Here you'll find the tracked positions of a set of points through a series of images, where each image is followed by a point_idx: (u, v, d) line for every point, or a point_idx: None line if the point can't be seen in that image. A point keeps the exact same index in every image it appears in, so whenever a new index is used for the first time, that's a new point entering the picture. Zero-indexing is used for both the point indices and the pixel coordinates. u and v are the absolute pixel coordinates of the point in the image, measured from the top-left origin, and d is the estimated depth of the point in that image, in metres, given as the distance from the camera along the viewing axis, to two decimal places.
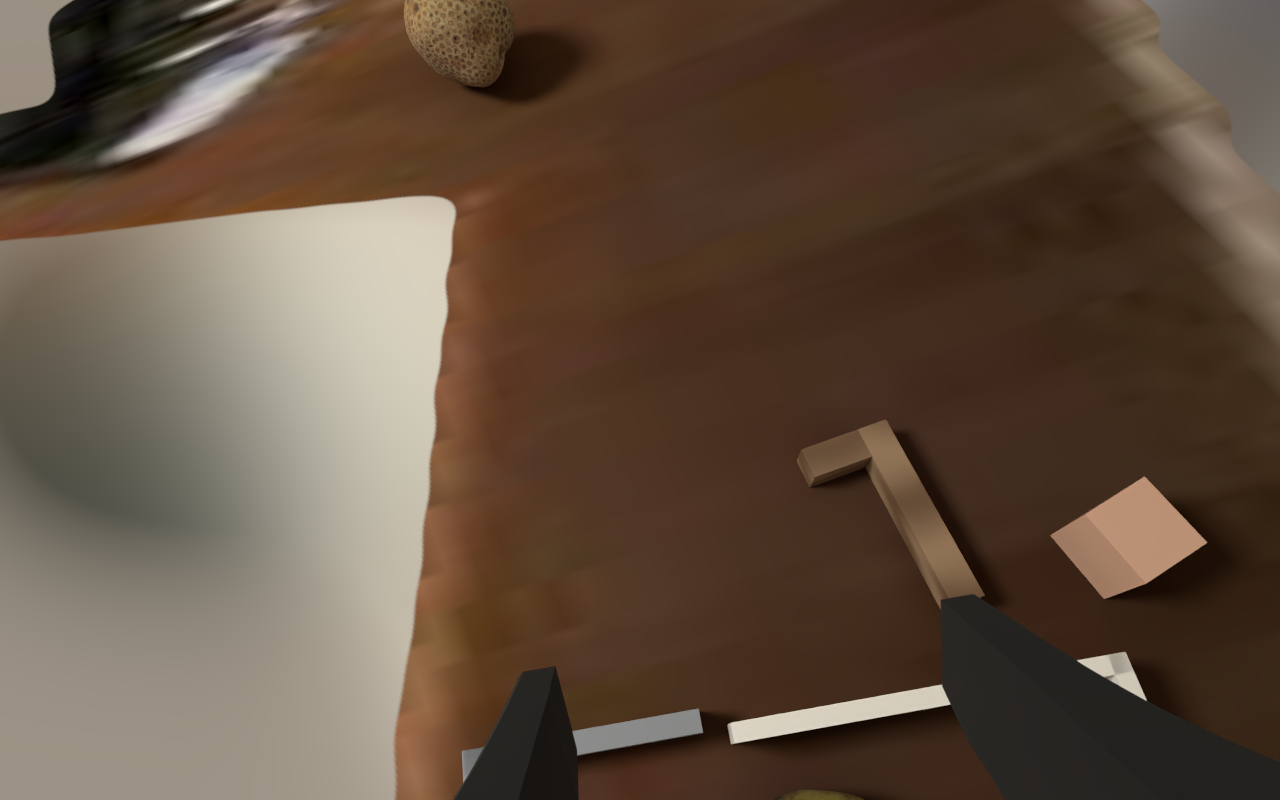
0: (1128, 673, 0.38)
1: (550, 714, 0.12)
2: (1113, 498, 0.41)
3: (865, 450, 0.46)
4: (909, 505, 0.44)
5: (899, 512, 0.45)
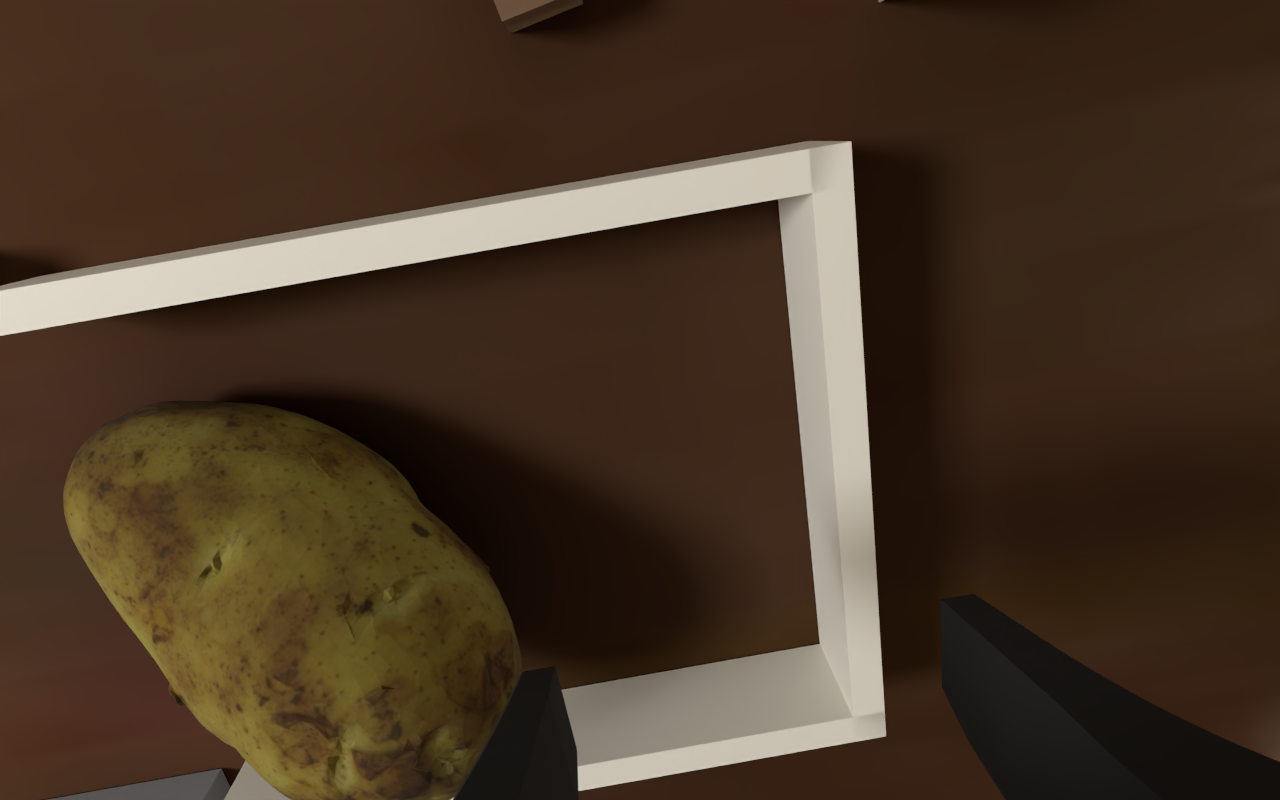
0: (840, 190, 0.17)
1: (550, 714, 0.12)
2: None
3: None
4: None
5: None
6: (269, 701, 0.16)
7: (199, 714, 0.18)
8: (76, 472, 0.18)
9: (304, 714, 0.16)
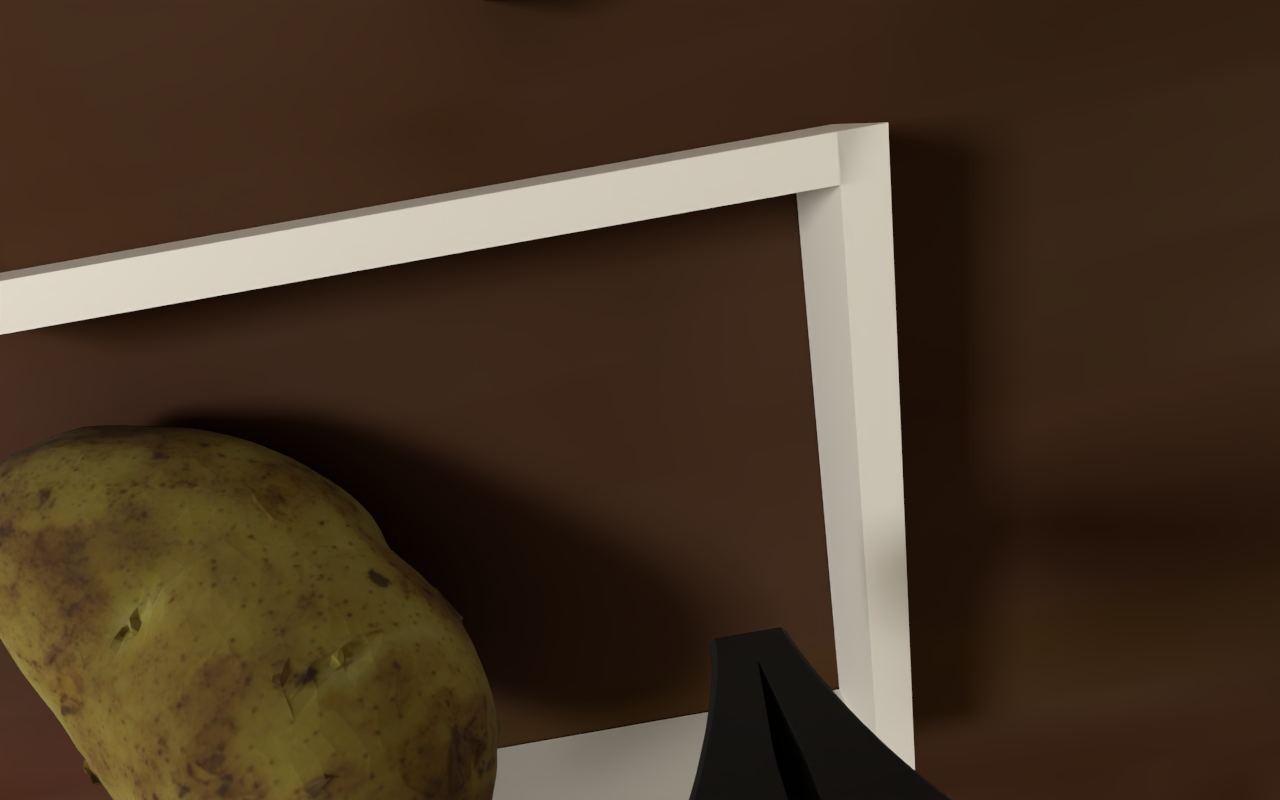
0: (874, 182, 0.14)
1: (760, 677, 0.12)
2: None
3: None
4: None
5: None
6: (190, 792, 0.14)
7: (116, 798, 0.15)
8: None
9: None
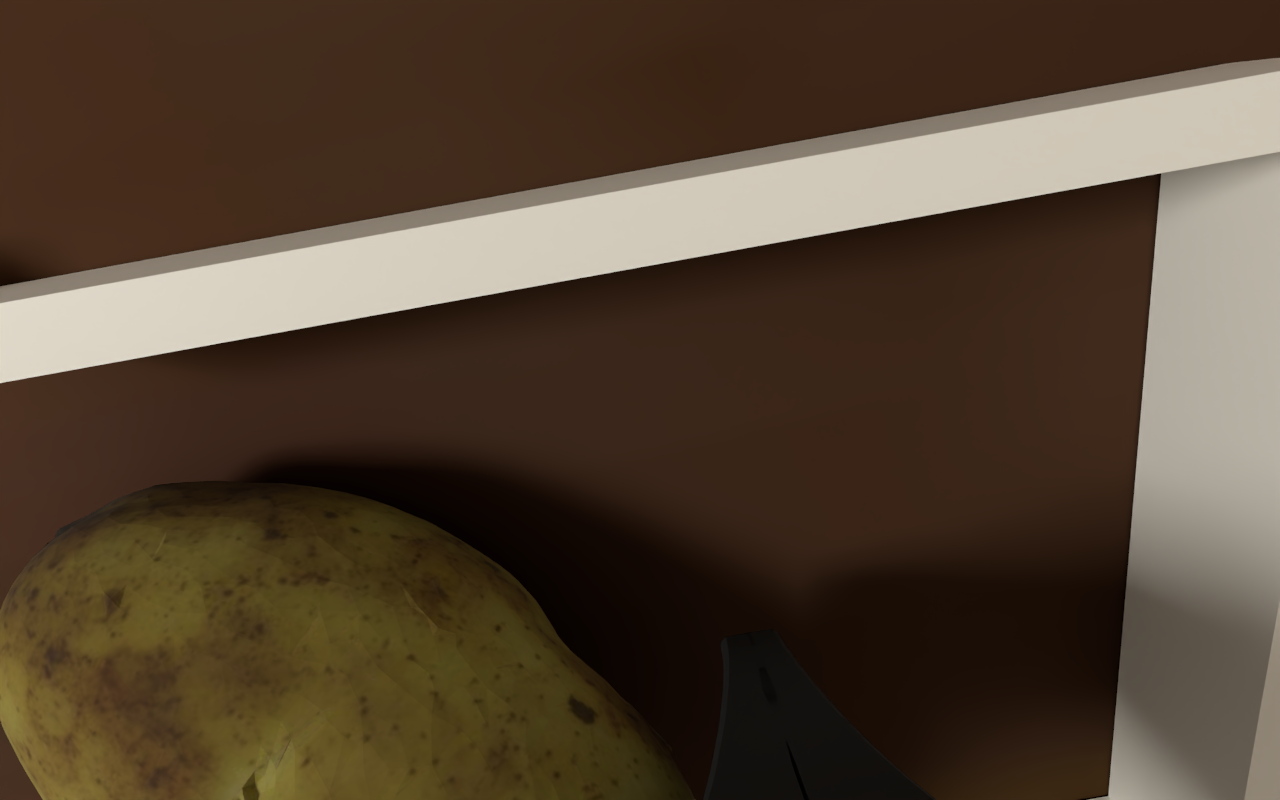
0: None
1: None
2: None
3: None
4: None
5: None
6: None
7: None
8: (8, 624, 0.10)
9: None
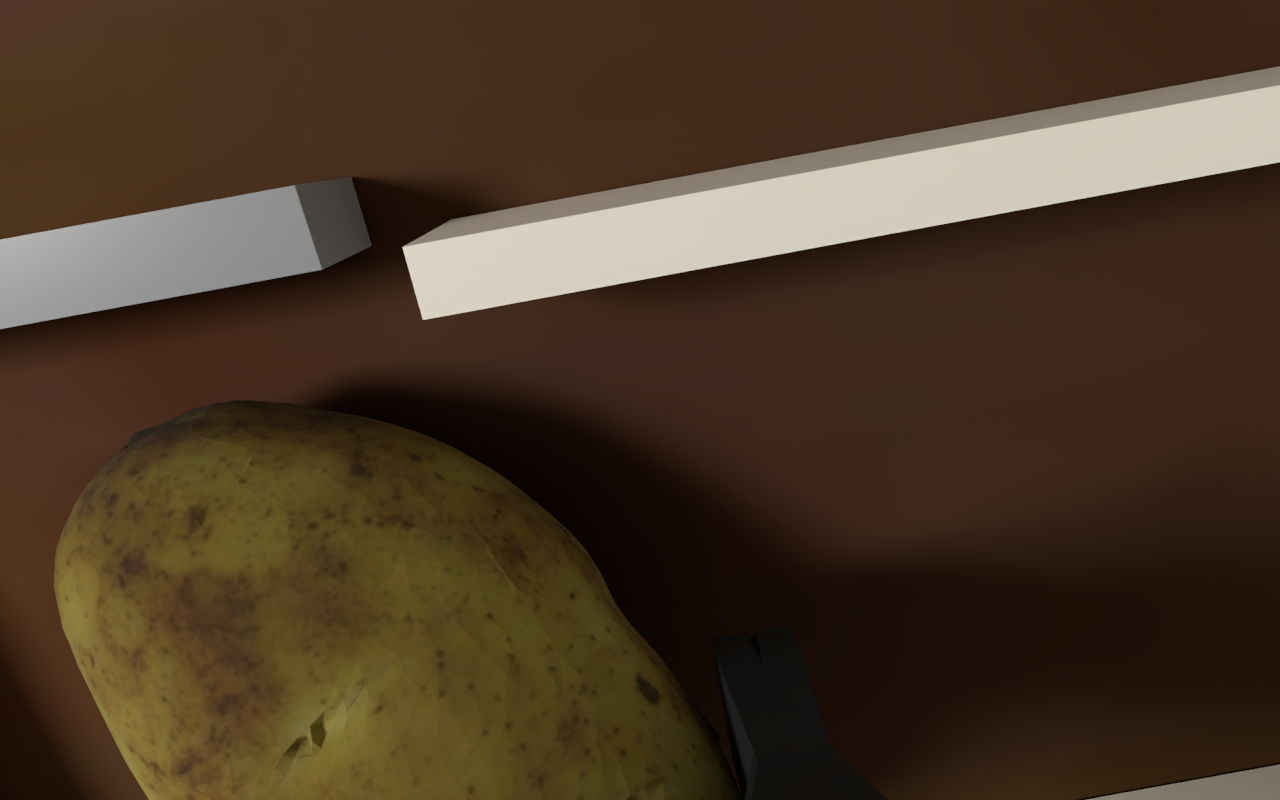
0: None
1: None
2: None
3: None
4: None
5: None
6: None
7: None
8: (82, 526, 0.10)
9: None
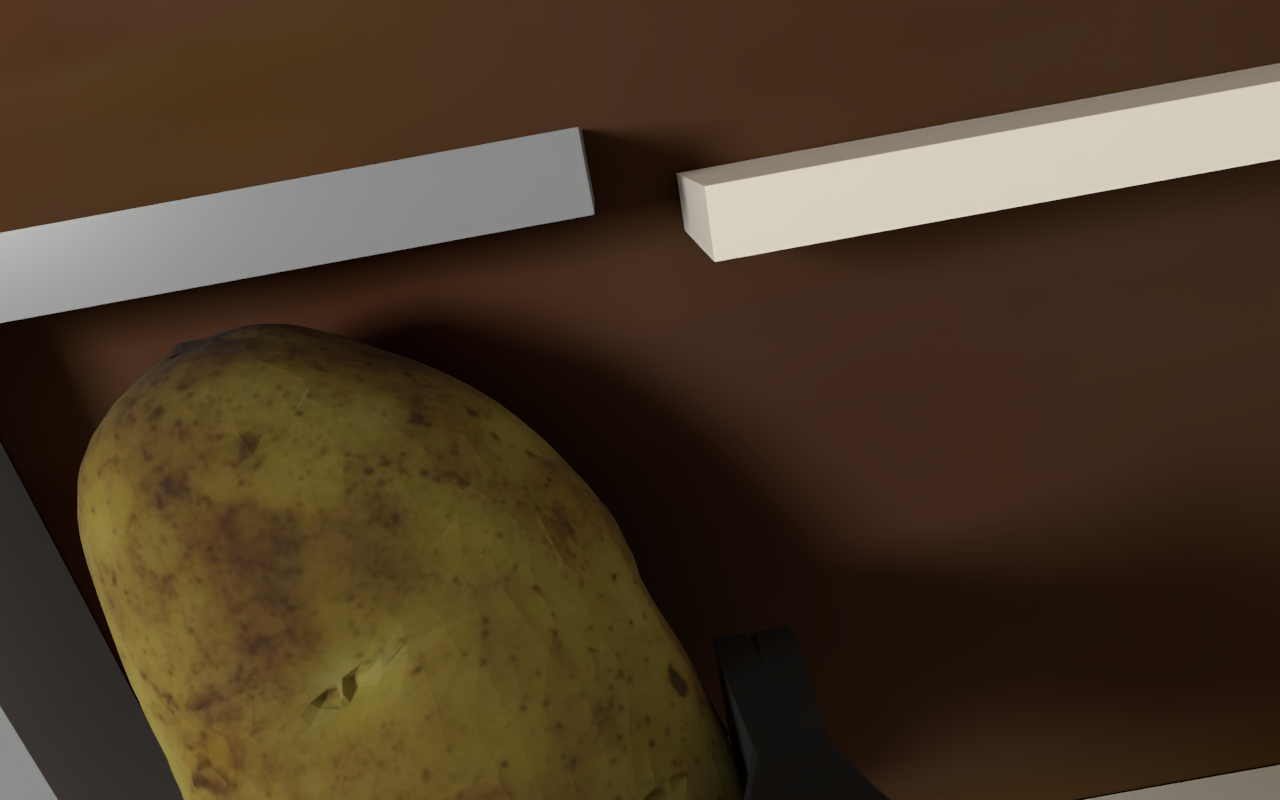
0: None
1: None
2: None
3: None
4: None
5: None
6: None
7: None
8: (120, 437, 0.09)
9: None
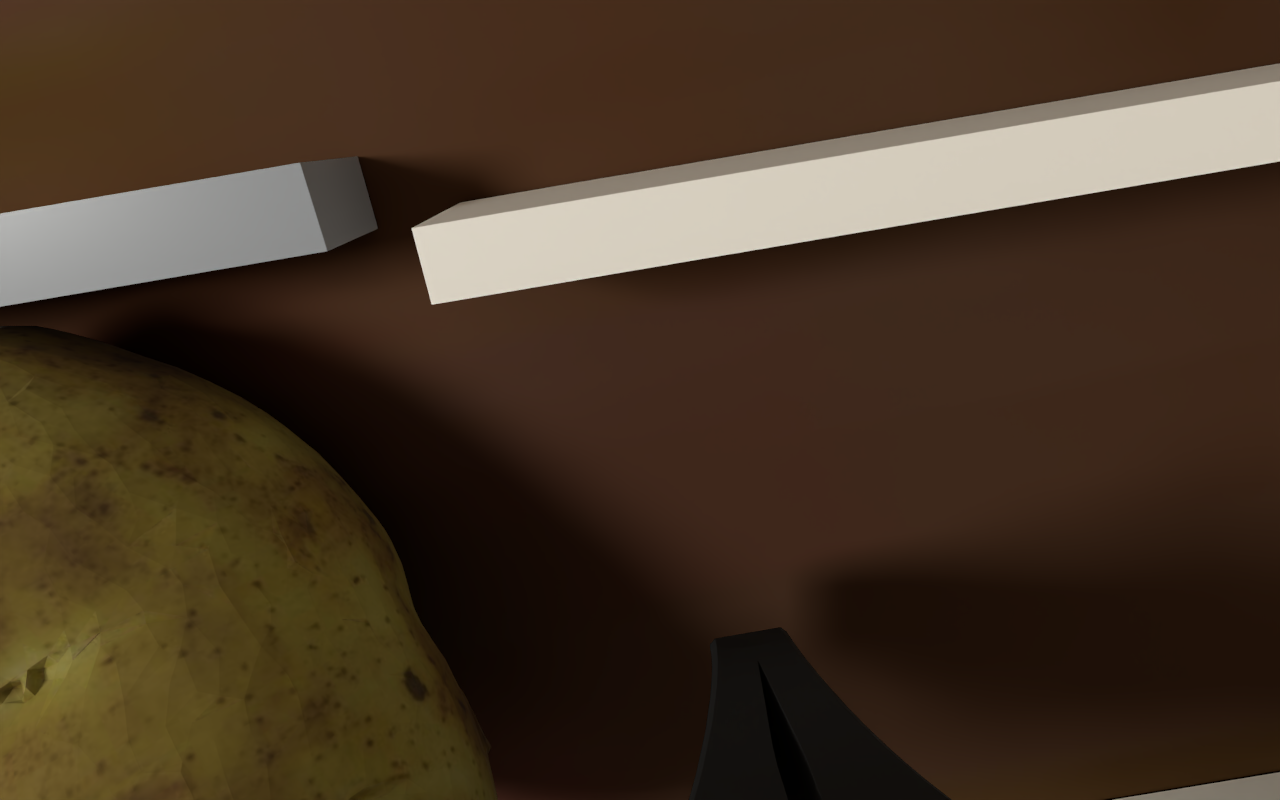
0: None
1: None
2: None
3: None
4: None
5: None
6: None
7: None
8: None
9: None
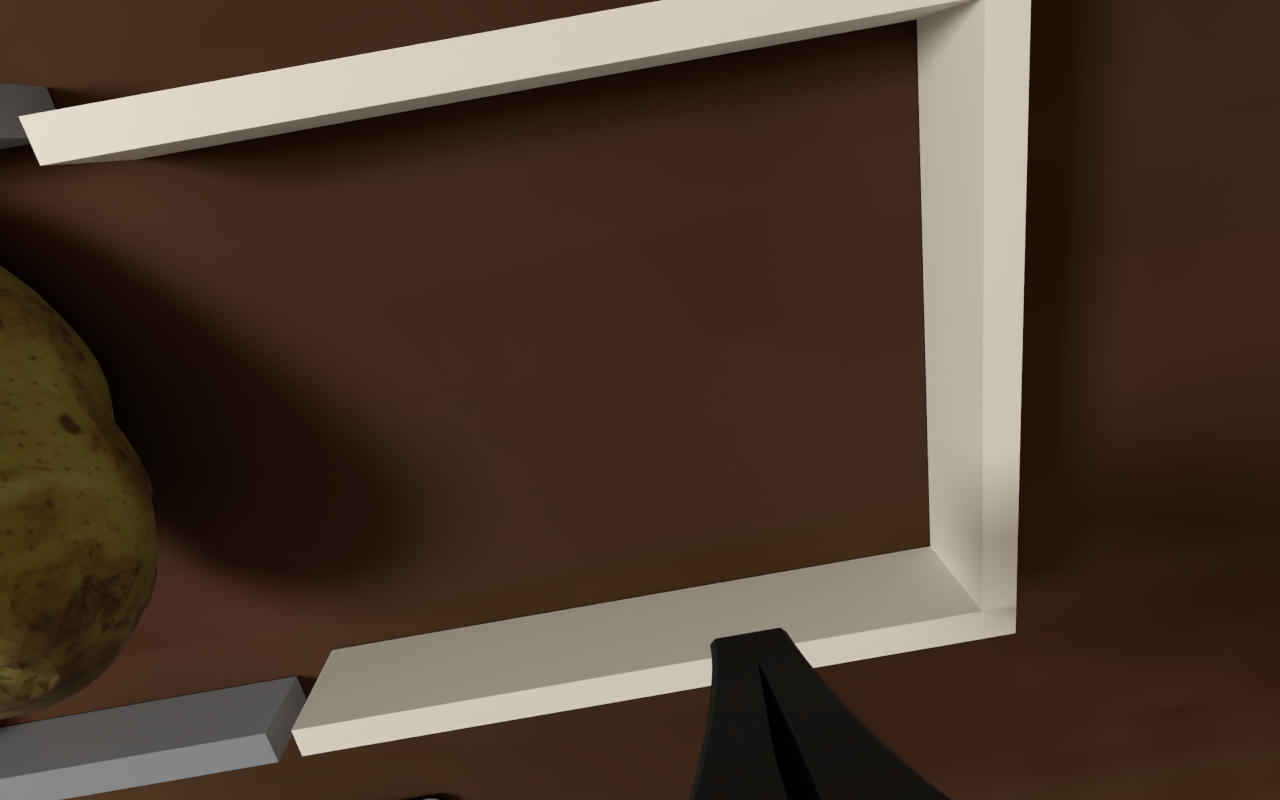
0: None
1: None
2: None
3: None
4: None
5: None
6: None
7: None
8: None
9: None
